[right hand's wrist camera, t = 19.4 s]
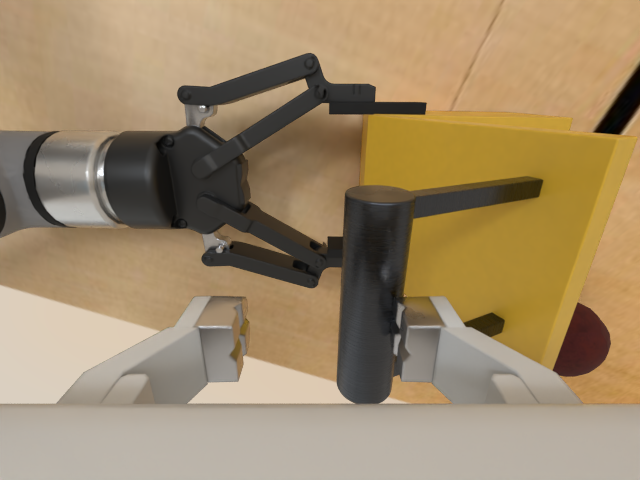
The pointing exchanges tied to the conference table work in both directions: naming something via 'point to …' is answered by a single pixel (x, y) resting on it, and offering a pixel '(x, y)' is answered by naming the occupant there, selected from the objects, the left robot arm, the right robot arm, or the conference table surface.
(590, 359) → the potato
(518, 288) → the yellow panel
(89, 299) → the conference table surface
